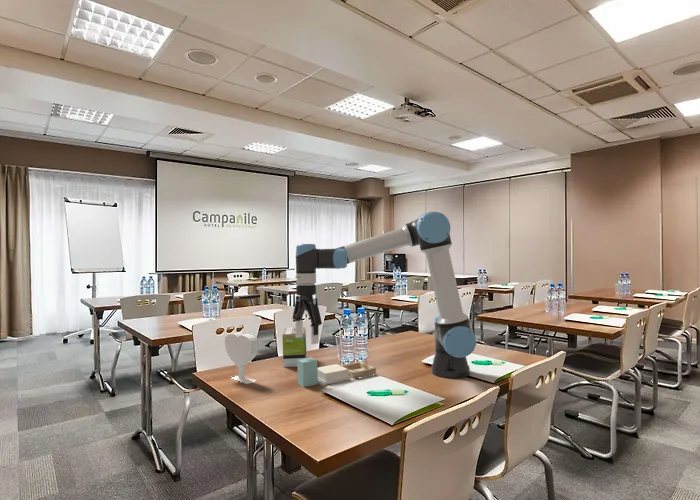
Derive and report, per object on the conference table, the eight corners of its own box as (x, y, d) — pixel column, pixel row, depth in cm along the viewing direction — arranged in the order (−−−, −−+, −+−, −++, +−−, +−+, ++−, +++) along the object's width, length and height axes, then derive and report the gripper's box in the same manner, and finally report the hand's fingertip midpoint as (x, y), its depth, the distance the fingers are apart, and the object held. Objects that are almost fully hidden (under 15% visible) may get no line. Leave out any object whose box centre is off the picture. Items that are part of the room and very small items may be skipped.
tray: (375, 374, 162) (375, 368, 162) (353, 379, 156) (353, 372, 156) (360, 368, 172) (360, 362, 172) (338, 372, 166) (338, 366, 166)
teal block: (317, 384, 152) (317, 360, 152) (303, 387, 149) (302, 362, 149) (311, 380, 156) (311, 357, 156) (297, 383, 153) (297, 359, 153)
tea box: (285, 358, 190) (284, 327, 190) (306, 357, 191) (306, 326, 191) (282, 367, 175) (282, 333, 176) (305, 366, 176) (305, 332, 176)
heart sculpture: (260, 381, 157) (259, 334, 157) (250, 384, 153) (249, 337, 153) (233, 374, 166) (233, 331, 166) (223, 378, 161) (223, 333, 162)
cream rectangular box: (350, 379, 156) (349, 369, 156) (322, 385, 150) (322, 374, 150) (337, 373, 165) (337, 363, 165) (310, 378, 159) (310, 368, 159)
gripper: (284, 283, 161) (284, 336, 161) (311, 287, 140) (312, 348, 140) (301, 282, 165) (301, 333, 165) (330, 285, 144) (331, 345, 144)
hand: (306, 340), depth 153 cm, fingers open, 13 cm apart
